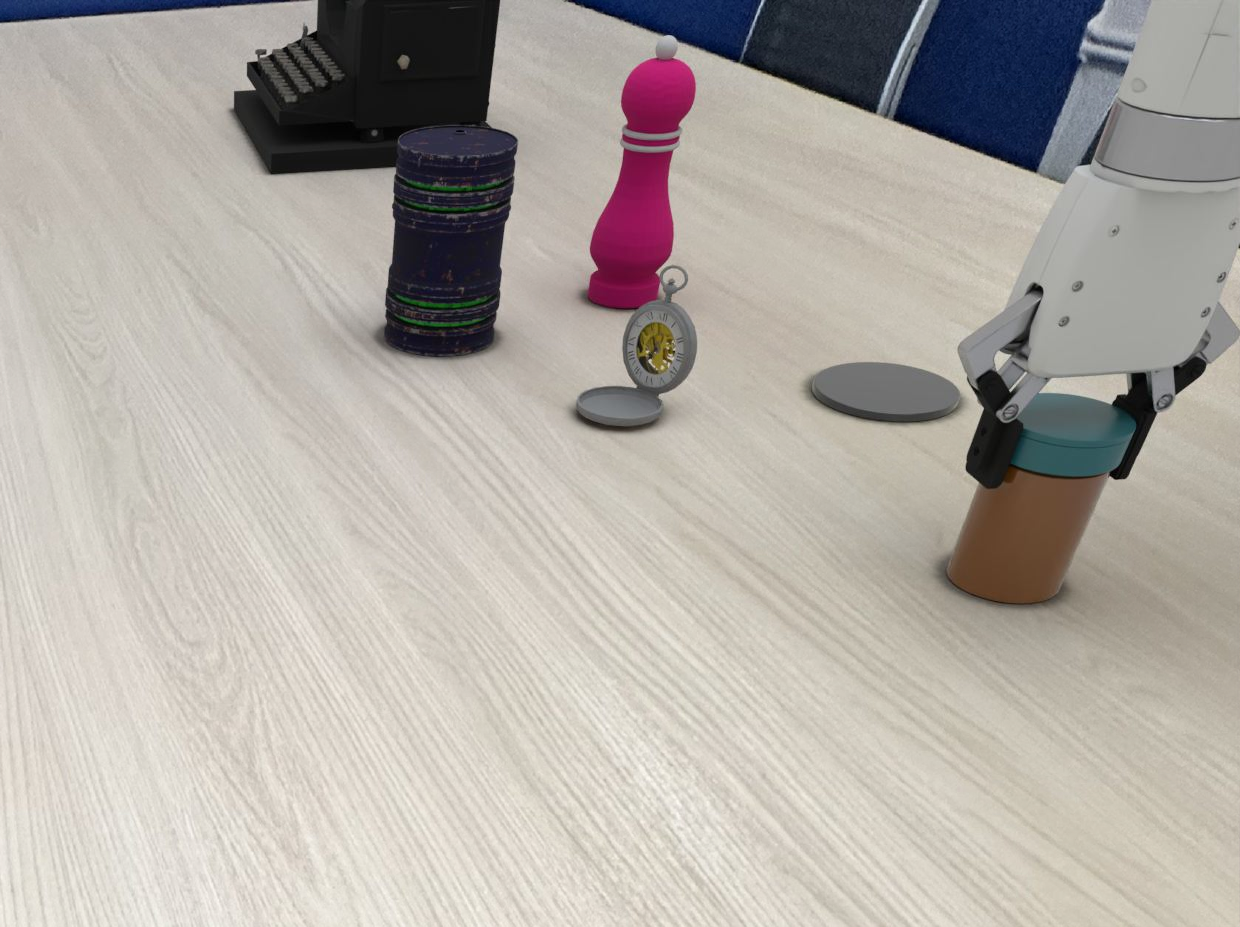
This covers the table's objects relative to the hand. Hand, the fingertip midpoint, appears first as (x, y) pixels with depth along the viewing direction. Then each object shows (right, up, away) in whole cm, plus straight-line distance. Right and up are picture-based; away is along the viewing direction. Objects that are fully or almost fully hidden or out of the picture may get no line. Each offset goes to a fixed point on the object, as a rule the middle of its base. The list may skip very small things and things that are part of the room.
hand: (1044, 473), depth 88 cm
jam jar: (0, -5, +5) cm, 7 cm away
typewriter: (-31, +78, +88) cm, 121 cm away
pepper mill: (-12, +34, +44) cm, 57 cm away
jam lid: (0, +2, -2) cm, 3 cm away
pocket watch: (-18, +15, +26) cm, 35 cm away
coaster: (+3, +17, +27) cm, 32 cm away
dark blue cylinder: (-30, +28, +38) cm, 56 cm away
